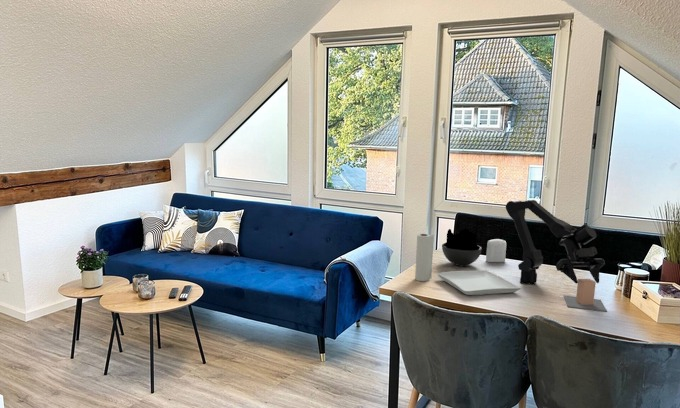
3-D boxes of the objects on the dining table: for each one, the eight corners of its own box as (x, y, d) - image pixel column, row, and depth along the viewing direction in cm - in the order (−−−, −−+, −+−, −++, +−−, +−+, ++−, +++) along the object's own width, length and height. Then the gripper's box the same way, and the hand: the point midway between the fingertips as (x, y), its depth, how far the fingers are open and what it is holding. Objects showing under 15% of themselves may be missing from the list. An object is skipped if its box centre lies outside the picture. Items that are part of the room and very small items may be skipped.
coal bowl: (485, 264, 254) (487, 229, 252) (473, 272, 238) (476, 235, 235) (448, 258, 265) (450, 224, 262) (435, 266, 248) (437, 230, 245)
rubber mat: (567, 307, 193) (567, 306, 192) (563, 296, 206) (563, 295, 206) (607, 312, 188) (607, 311, 188) (600, 300, 201) (600, 299, 201)
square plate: (464, 299, 200) (465, 290, 199) (434, 279, 226) (435, 271, 225) (521, 295, 207) (522, 286, 206) (486, 276, 233) (486, 268, 232)
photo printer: (502, 260, 263) (504, 238, 261) (506, 262, 258) (508, 240, 257) (484, 260, 261) (486, 238, 260) (488, 262, 257) (489, 240, 255)
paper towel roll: (414, 280, 222) (416, 235, 219) (416, 277, 228) (418, 232, 225) (429, 282, 220) (432, 236, 217) (431, 278, 226) (433, 234, 223)
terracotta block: (581, 304, 195) (584, 281, 193) (575, 301, 198) (578, 278, 197) (593, 304, 195) (595, 281, 194) (587, 301, 199) (589, 278, 198)
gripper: (562, 239, 196) (575, 273, 187) (604, 239, 199) (620, 273, 190) (550, 253, 205) (562, 286, 196) (590, 253, 208) (604, 286, 198)
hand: (587, 283), depth 195 cm, fingers open, 9 cm apart
